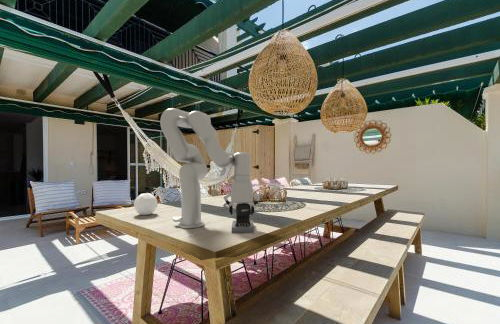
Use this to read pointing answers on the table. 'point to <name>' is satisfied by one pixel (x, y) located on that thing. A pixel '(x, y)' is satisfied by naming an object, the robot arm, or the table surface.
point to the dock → (243, 228)
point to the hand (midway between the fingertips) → (241, 214)
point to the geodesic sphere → (145, 204)
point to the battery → (243, 214)
